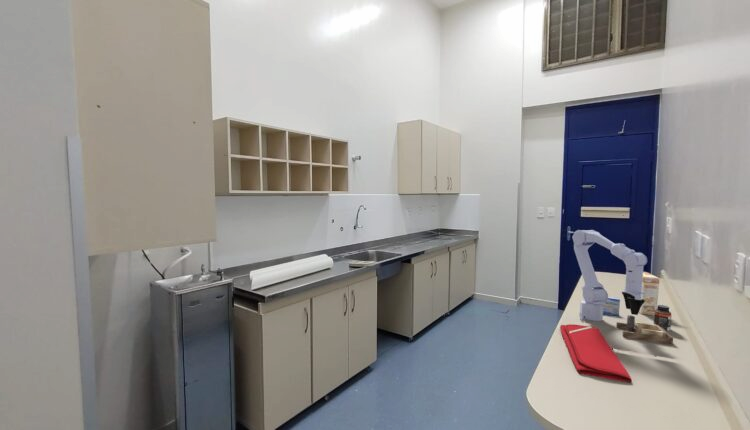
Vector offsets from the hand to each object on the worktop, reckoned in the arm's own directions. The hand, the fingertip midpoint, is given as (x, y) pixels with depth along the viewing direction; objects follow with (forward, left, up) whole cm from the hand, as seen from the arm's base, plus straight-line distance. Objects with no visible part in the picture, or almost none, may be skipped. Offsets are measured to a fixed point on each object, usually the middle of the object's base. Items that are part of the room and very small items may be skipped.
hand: (631, 311), depth 148 cm
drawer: (+4, -1, -9) cm, 10 cm away
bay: (+3, -1, -11) cm, 11 cm away
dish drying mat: (-19, -26, -11) cm, 34 cm away
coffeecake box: (+15, +43, -11) cm, 47 cm away
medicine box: (-3, +28, -11) cm, 30 cm away
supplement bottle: (+15, +13, -11) cm, 22 cm away
